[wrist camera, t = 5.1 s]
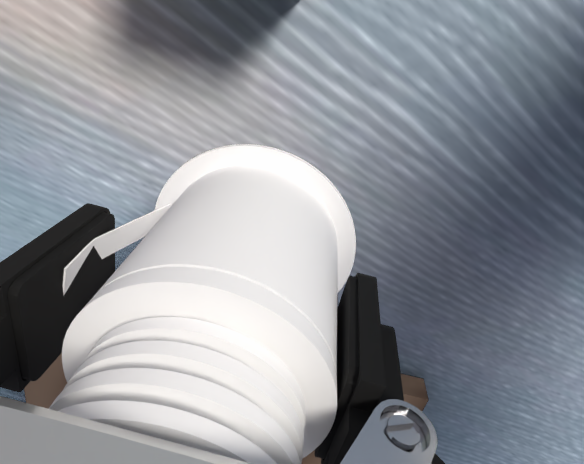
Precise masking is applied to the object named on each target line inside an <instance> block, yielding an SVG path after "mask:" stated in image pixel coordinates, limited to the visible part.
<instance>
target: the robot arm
mask: <svg viewBox="0 0 584 464" xmlns="http://www.w3.org/2000/svg"><path fill="white" fill-rule="evenodd" d="M114 229H115V218H114V215H112V214H110V211H109V209H107V208H105V207H101V206H97V205H93V204H85V205H84V206H82V207H81V208H79V209H78V210H76V211H75V212H74V213H72V214H71V215H69V216H68V217H66V218H65V219H63V220H62V221H60V222H59V223H57V224H56V225H55V226H53V227H52V228H50V229H49V230H47V231H46V232H44V233H43V234H41V235H40V236H38V237H37V238H35V239H34V240H33V241H31V242H30V243H28V244H27V245H25V246H24V247H22V248H21V249H19V250H18V251H16V252H15V253H14V254H12V255H11V256H9V257H8V258H6V259H5V260H3V261H2V262H0V387H2V388H6V389H9V390H13V391H17V392H21V391H22V390H23V389H24V388H25V387H26V386H27V385H28V383H29V382H30V381H36V380H38V379H39V378H40V377H41V376H42V375H43V374H44V372H45V371H46V370H47V369H48V368H49V367H50V366H51V364H52V363H53V362H54V361H55V360H56V359H57V358H58V356H59V355H60V354H61V353H62V347H63V341H64V338H65V335H66V332H67V330H68V328H69V326H70V324H71V322H72V321H73V320H74V318H75V317H76V316H77V315H78V313H79V312H80V311H81V310H82V309H83V308H84V307H85V305H86V304H87V303H88V302H89V301H90V300H91V299H92V298H93V296H94V295H95V294H96V293H97V292H98V291H99V289H100V288H101V287H102V286H103V285H104V284H105V282H106V281H107V280H108V279H109V278H110V277H111V275H112V274H113V273H114V272H115V253H113V254H111V255H109V256H107V257H105V258H103V259H101V257H100V255H99V254H98V252H97V250H96V249H95V247H94V246H93V247H92V249H91V251H90V252H89V254H88V256H87V257H86V259H85V261H84V262H83V264H82V266H81V268H80V269H79V271H78V273H77V274H76V276H75V278H74V279H73V281H72V283H71V284H70V286H69V288H68V290H67V291H66V293H65V295H63V276H64V268H65V267H66V266H67V265H68V264H69V263H70V262H71V261H72V260H73V259H74V258H75V257H76V256H77V255H78V254H79V253H80V252H81V251H82V250H83V249H84V248H85V247H86V246H87V245H88V244H89V243H90V242H91V241H92V240H93V239H95V238H96V237H99V236H101V235H103V234H105V233H107V232H109V231H112V230H114ZM437 442H438V440H437V435H436V431H435V429H434V427H433V425H432V423H431V421H430V420H429V419H428V418H427V416H426V415H425V414H424V413H423V412H422V411H420V410H419V409H418V408H417V407H415V406H413V405H412V404H410V403H408V402H405V401H404V396H403V388H402V381H401V373H400V366H399V358H398V351H397V343H396V336H395V330H394V328H393V327H389V326H386V325H382V324H380V313H379V302H378V290H377V279H376V277H372V276H368V275H364V274H361V273H357V274H356V276H355V277H353V276H349V277H348V280H347V283H346V286H345V288H344V291H343V294H342V297H341V300H340V303H339V306H338V308H337V411H336V416H335V420H334V423H333V425H332V428H331V430H330V432H329V433H328V435H327V436H326V438H325V439H324V440H323V442H322V443H321V444H320V445H319V446H318V447H317V448H316V449H315V453H314V454H315V457H318V458H321V464H445V463H444V462H443V461H442V460H441V459H440V458H439V457H438V456H437V455H436V454H435V452H436V448H437ZM0 464H251V463H247V462H244V461H240V460H236V459H233V458H229V457H225V456H222V455H218V454H214V453H211V452H207V451H203V450H200V449H196V448H192V447H189V446H185V445H182V444H178V443H174V442H171V441H167V440H163V439H160V438H156V437H152V436H148V435H145V434H141V433H137V432H133V431H130V430H126V429H122V428H119V427H115V426H111V425H107V424H104V423H100V422H96V421H93V420H89V419H85V418H81V417H78V416H74V415H70V414H66V413H63V412H59V411H55V410H51V409H48V408H44V407H40V406H36V405H32V404H29V403H25V402H21V401H17V400H13V399H9V398H6V397H2V396H0Z"/></svg>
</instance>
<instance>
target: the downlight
mask: <svg viewBox="0 0 584 464" xmlns="http://www.w3.org/2000/svg"><path fill="white" fill-rule="evenodd" d="M143 237H144V238H143ZM141 238H143V240H142V241H141V242H140V243H139V244H138V245H137V247H136V248H135V249H134V250H133V251H132V252H131V253H130V255H129V256H128V257H127V258H126V259H125V260H124V262H123V263H122V264H121V265H120V266H119V267H118V269H117V270H116V271H115V272H114V273H113V274H112V275H111V277H110V278H109V279H108V280H107V281H106V282H105V284H104V285H103V286H102V287H101V288H100V289H99V291H98V292H97V293H96V294H95V295H94V296H93V298H92V299H91V300H90V301H89V302H88V303H87V304H86V305H85V307H84V308H83V309H82V310H81V311H80V312H79V313H78V315H77V316H76V317H75V318H74V320H73V321H72V322H71V324H70V326H69V328H68V330H67V332H66V335H65V338H64V341H63V347H62V365H63V371H64V375H65V378H66V381H67V384H66V386H65V387H64V389H63V391H62V392H61V393H60V394H59V395H58V396H57V398H56V399H55V400H54V402H53V403H52V404H51V406H50V407H49V409H51V410H55V411H59V412H63V413H66V414H70V415H74V416H78V417H81V418H85V419H89V420H93V421H96V422H100V423H104V424H107V425H111V426H115V427H119V428H122V429H126V430H130V431H133V432H137V433H141V434H145V435H148V436H152V437H156V438H160V439H163V440H167V441H171V442H174V443H178V444H182V445H185V446H189V447H192V448H196V449H200V450H203V451H207V452H211V453H214V454H218V455H222V456H225V457H229V458H233V459H236V460H240V461H244V462H247V463H251V464H301V463H302V458H304V457H306V456H307V455H309V454H310V453H311V452H313V451H314V450H315V449H316V448H317V447H318V446H319V445H320V444H321V443H322V442H323V440H324V439H325V438H326V436H327V435H328V433H329V432H330V430H331V428H332V425H333V423H334V420H335V416H336V411H337V294H338V292H339V291H340V290H341V289H342V287H343V286H344V284H345V282H346V281H347V279H348V277H349V275H350V273H351V270H352V267H353V263H354V259H355V252H356V235H355V227H354V223H353V219H352V216H351V213H350V211H349V208H348V206H347V204H346V202H345V200H344V199H343V197H342V195H341V194H340V192H339V191H338V190H337V188H336V187H335V186H334V184H333V183H332V182H331V181H330V180H329V179H328V178H327V177H326V176H325V175H324V174H323V173H321V172H320V171H319V170H318V169H317V168H315V167H314V166H312V165H311V164H310V163H308V162H306V161H305V160H303V159H301V158H299V157H297V156H295V155H293V154H291V153H288V152H286V151H283V150H280V149H276V148H272V147H268V146H262V145H254V144H236V145H228V146H222V147H218V148H214V149H211V150H209V151H206V152H203V153H201V154H199V155H197V156H195V157H193V158H192V159H190V160H189V161H187V162H186V163H185V164H184V165H182V166H181V167H180V168H179V169H178V170H177V171H176V172H175V173H174V174H173V175H172V176H171V177H170V178H169V180H168V181H167V182H166V184H165V185H164V187H163V189H162V191H161V192H160V195H159V197H158V200H157V203H156V206H155V210H154V211H153V212H151V213H149V214H146V215H144V216H142V217H140V218H138V219H135V220H133V221H131V222H129V223H127V224H125V225H122V226H120V227H118V228H116V229H114V230H112V231H109V232H107V233H105V234H103V235H101V236H99V237H96V238H95V239H93V240H92V241H91V242H90V243H89V244H88V245H87V246H86V247H85V248H84V249H83V250H82V251H81V252H80V253H79V254H78V255H77V256H76V257H75V258H74V259H73V260H72V261H71V262H70V263H69V264H68V265H67V266H66V267H65V268H64V276H63V295H65V293H66V291H67V290H68V288H69V286H70V284H71V283H72V281H73V279H74V278H75V276H76V274H77V273H78V271H79V269H80V268H81V266H82V264H83V262H84V261H85V259H86V257H87V256H88V254H89V252H90V251H91V249H92V247H93V246H94V247H95V249H96V250H97V252H98V254H99V255H100V257H101V259H103V258H105V257H107V256H109V255H111V254H113V253H115V252H117V251H119V250H120V249H122V248H124V247H126V246H128V245H130V244H132V243H134V242H136V241H138V240H139V239H141Z"/></svg>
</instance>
